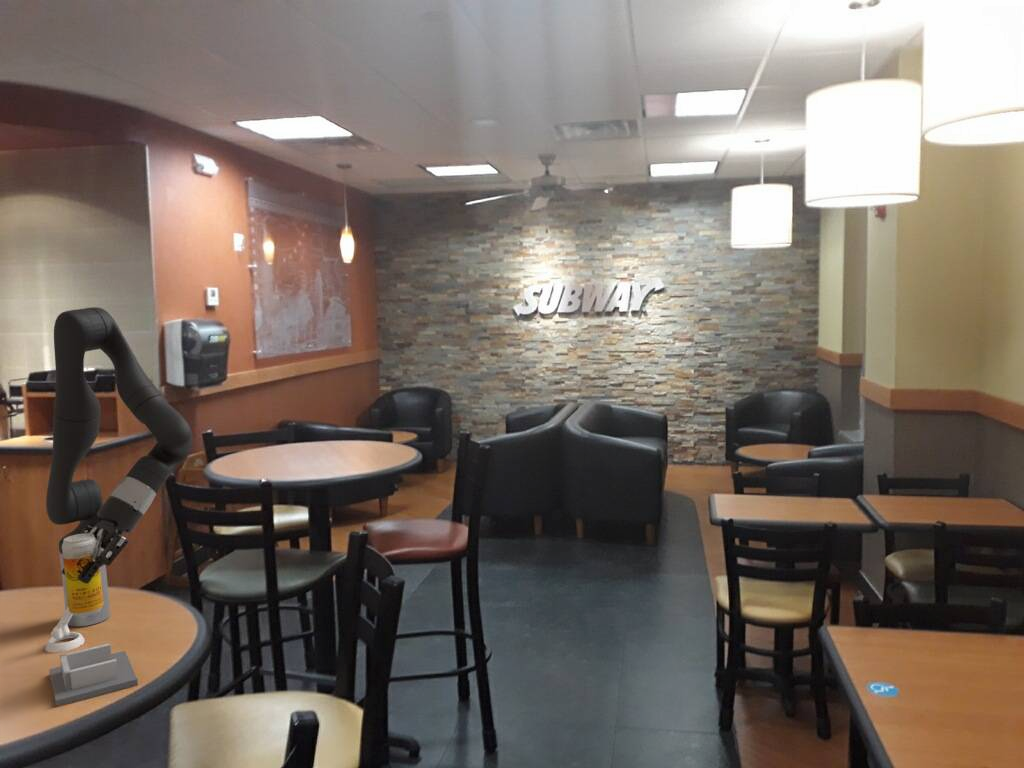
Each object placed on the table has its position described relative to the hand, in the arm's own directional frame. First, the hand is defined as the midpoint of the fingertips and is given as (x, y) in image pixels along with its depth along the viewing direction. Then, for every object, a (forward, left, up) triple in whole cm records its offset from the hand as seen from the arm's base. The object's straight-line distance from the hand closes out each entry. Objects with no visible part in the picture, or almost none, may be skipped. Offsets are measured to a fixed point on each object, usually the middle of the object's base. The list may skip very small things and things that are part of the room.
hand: (74, 578), depth 160 cm
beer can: (-1, +2, -7) cm, 8 cm away
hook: (-23, -2, -22) cm, 32 cm away
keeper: (0, +1, -21) cm, 21 cm away
